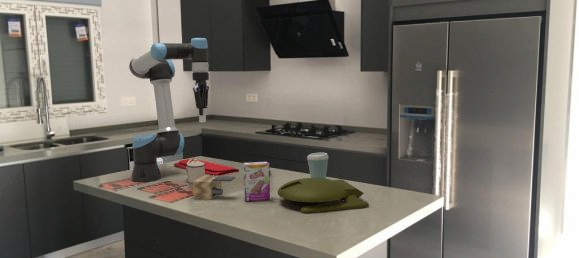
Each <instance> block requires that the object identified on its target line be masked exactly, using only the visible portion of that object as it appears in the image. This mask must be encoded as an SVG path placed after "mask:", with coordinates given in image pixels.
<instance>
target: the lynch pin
mask: <svg viewBox="0 0 579 258" xmlns="http://www.w3.org/2000/svg"><path fill="white" fill-rule="evenodd" d="M191 189H192V190H191V192H192V196H193V197H194V185H192V188H191ZM223 194H224V190H223V188H221V189H218V188H212V195H217V196H222V195H223Z"/></svg>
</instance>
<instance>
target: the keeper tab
mask: <svg viewBox="0 0 579 258" xmlns="http://www.w3.org/2000/svg"><path fill="white" fill-rule="evenodd" d="M235 179H236V176H231V175H230V176H226V175H222V176H217V177H215V178H213V179H212V181H221V182H232V181H233V180H235Z"/></svg>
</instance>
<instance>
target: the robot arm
mask: <svg viewBox="0 0 579 258" xmlns="http://www.w3.org/2000/svg"><path fill="white" fill-rule="evenodd" d="M173 60H189V61H190V60H191V71H192V81H195V86H193V87H192V90H193V91H192V92H193V95H194V101H195V107H196V109H198V121H199V123H207V118H206V117H207V116H206V109H208V106H209V105H208V102H209V101H208V100H209V90H210V86H208V85H207V81H209V79H210V74H209V67H210V65H209V46H208V40H207V38H205V37H194V38H191V40H190V43H183V42H181V43H176V42H175V43H173V42H171V43H170V42H169V43H165V42H158V43H157V42H155V43H153V44H151V47H150V50H149V51H147V52H145V53H144V54H142V55H136V56H135V57H133V58H132V59H131V60H130V62H129V65H128V69H129V71H130V72H131V74H132V75H133V76H134V77H136V78H138V79H141V80H143V79H144V80H149V82H150V84H151V85H152V86H153V91H154V101H155V109H156V117H157V123H158V124H157V125H158V130H157V132H156V134H155V133H152V132H151V133H143V134H140V135H137V136H135V137H134V138H133V139H132V151H133V152H132V154H133V155H132V157H133V168H132V172H131V176H130V178H131V179H130V181H132V182H135V183H136V182H138V183H145V182H146V183H147V182H153V181H154V182H155V181H158V180H160V179H162V173H161V170H160V168H159V165H158V160H157V159H158V158H163V157H164V158H166V157H173V156H178V155H180V154H182V152H183V150H184V147H185V138H184V136H183V134H182V133H181V132H179V131H180V130H179V129H178V128H177V127H176V123H175V116H174V115H175V114H174V108H173V100H172V91H171V86H170V85H171V82H173V78H175V72H176V69H175V64H174V61H173Z"/></svg>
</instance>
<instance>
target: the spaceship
mask: <svg viewBox="0 0 579 258" xmlns="http://www.w3.org/2000/svg"><path fill="white" fill-rule="evenodd" d="M364 194H365V193H364V192H363V191H361V190H360V189H358V188H357V187H355V186H353V185H352V184H350V183H349V182H347V181H345V180H344V179H331V178H326V179H325V178H311V177H305V178H304V177H303V178H298V179H294V180H291V181H288V182H286V183H284V184H283V185H281V186H279V188H278V190H277V195H278V196H279V197H280V198H283V199H285V200H288V201H292V202H301V203H325V204H315V205H305V206H302V207H301V208H300V212H301V213H302V214H313V213H315V214H316V213H323V212H325V213H326V212H333V211H335V212H336V211H346V210H355V209H364V208H365V209H366V208H368V207H369V202H367V201H366V200H365V201H364V200H359V198H360V197H361V196H363V195H364ZM333 201H341V202H339V203H338V202H336V203H326V202H333ZM343 201H344V202H343Z"/></svg>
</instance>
